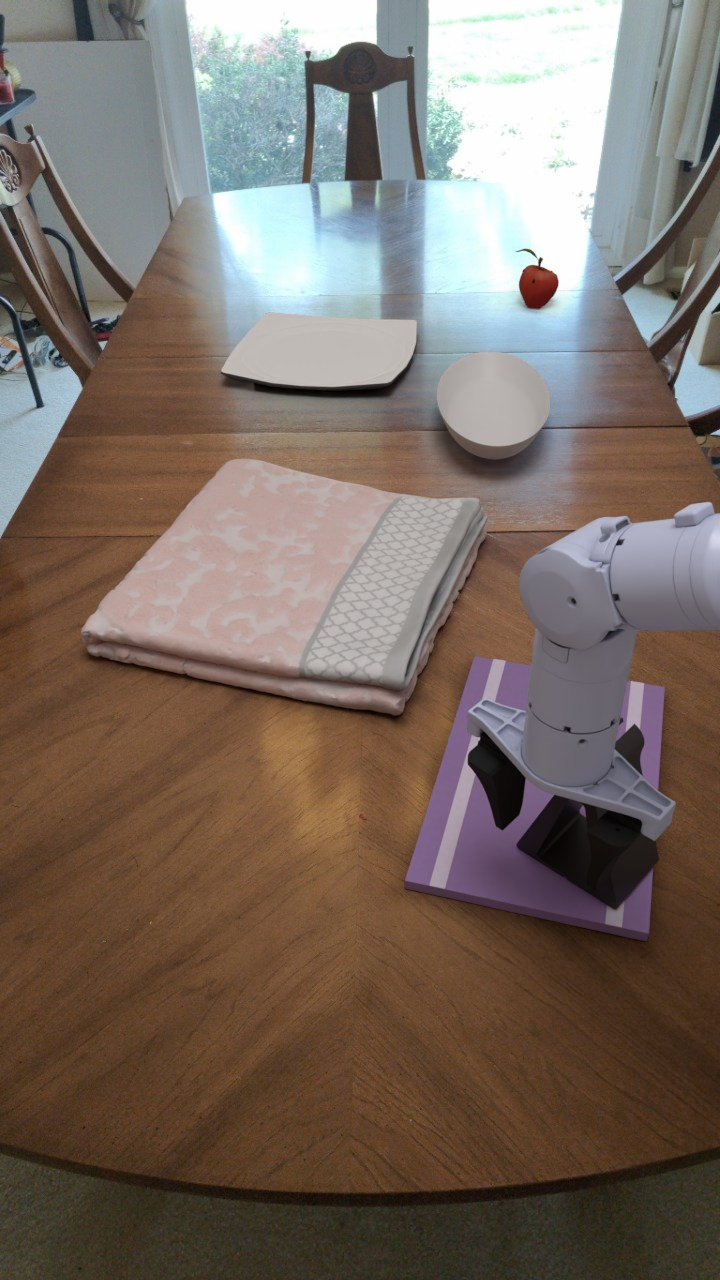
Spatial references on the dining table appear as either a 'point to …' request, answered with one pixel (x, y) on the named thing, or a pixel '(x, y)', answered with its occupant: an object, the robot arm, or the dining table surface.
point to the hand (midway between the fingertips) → (551, 848)
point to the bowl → (493, 403)
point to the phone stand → (567, 845)
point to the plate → (323, 352)
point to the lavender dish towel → (519, 820)
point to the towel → (295, 587)
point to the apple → (537, 284)
